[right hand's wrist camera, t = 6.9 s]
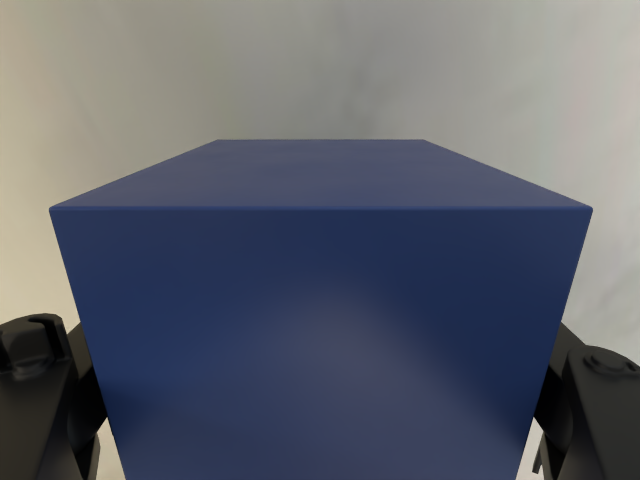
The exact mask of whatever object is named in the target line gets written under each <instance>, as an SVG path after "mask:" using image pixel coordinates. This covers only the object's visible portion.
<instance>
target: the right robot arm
mask: <svg viewBox="0 0 640 480" xmlns="http://www.w3.org/2000/svg"><path fill="white" fill-rule="evenodd" d="M106 418H108V415H107V412H106V408H105V405H104V402H103V398H102V395H101V391H100V388H99V384H98V381H97V377H96V374H95V370H94V367H93V363H92V360H91V356H90V353H89V349H88V346H87V342H86V339H85V335H84V332H83V328H82V325H81V322H80V323H79V324H78V325H77V326H76V327H75V328H74V329H73V330H72V331H70V332H69V333H68V334H66V330H65V327H64V324H63V321H62V318H61V317H59V316H57V315H56V314H48V313H43V314H33V315H28V316H24V317H21V318H17V319H14V320H11V321H9V322H6V323H4V324H1V325H0V480H96V475H97V468H98V461H99V454H100V442H99V438H98V435H97V431H98V430H99V428H100V427H101V425H102V424H103V422H104V421H105V419H106ZM534 418H535V419H536V421H537V422H538V424H539V425H540V427H541V428H542V430H543V434H542V438H541V441H540V444H539V448H538V451H537V454H536V457H535V461H534V464H533V470H532V472H534V473H537V474H538V472H539V469H540V466H541V465H542V467H543V474H544V480H640V367H639V366H638V365H637V364H635V363H634V362H632V361H631V360H629V359H628V358H626V357H624V356H622V355H620V354H618V353H616V352H614V351H611V350H607V349H604V348H601V347H597V346H589V345H585V344H584V343H583V342H582V341H581V340H580V339H579V338H578V337H577V336H576V335H574V334H573V333H572V332H571V331H570V330H569V329H568V328H567V327H566V326H565V325H564V324H563V323H562V322H561V323H560V327H559V330H558V334H557V337H556V341H555V344H554V348H553V351H552V354H551V358H550V361H549V365H548V368H547V372H546V375H545V379H544V382H543V386H542V389H541V393H540V396H539V400H538V403H537V406H536V410H535V413H534ZM108 421H109V419H108ZM109 425H110V422H109ZM110 428H111V426H110ZM111 431H112V429H111ZM112 435H113V433H112Z"/></svg>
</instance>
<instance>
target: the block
mask: <svg viewBox="0 0 640 480" xmlns="http://www.w3.org/2000/svg"><path fill="white" fill-rule="evenodd" d="M592 212H593V208H592V207H590V206H588V205H586V204H583V203H581V202H578V201H576V200H573V199H571V198H568V197H566V196H563V195H561V194H558V193H556V192H553V191H551V190H548V189H546V188H543V187H541V186H538V185H536V184H533V183H530V182H528V181H525V180H523V179H520V178H518V177H515V176H513V175H510V174H508V173H505V172H503V171H500V170H498V169H495V168H493V167H490V166H488V165H485V164H483V163H480V162H478V161H475V160H473V159H470V158H468V157H465V156H463V155H460V154H458V153H455V152H453V151H450V150H448V149H445V148H443V147H440V146H438V145H435V144H433V143H430V142H428V141H425V140H215V141H213V142H210V143H208V144H205V145H203V146H200V147H198V148H195V149H193V150H190V151H188V152H185V153H183V154H180V155H178V156H176V157H173V158H171V159H168V160H166V161H163V162H161V163H158V164H156V165H153V166H151V167H148V168H146V169H143V170H141V171H138V172H136V173H133V174H131V175H128V176H126V177H123V178H121V179H118V180H116V181H113V182H111V183H108V184H106V185H104V186H101V187H99V188H96V189H94V190H91V191H89V192H86V193H84V194H81V195H79V196H76V197H74V198H71V199H69V200H66V201H64V202H61V203H59V204H56V205H54V206H52V207H50V208H49V213H50V216H51V220H52V223H53V227H54V230H55V234H56V237H57V241H58V244H59V248H60V251H61V255H62V258H63V262H64V265H65V269H66V272H67V276H68V279H69V283H70V286H71V290H72V293H73V297H74V300H75V304H76V307H77V311H78V314H79V318H80V321H81V325H82V328H83V332H84V335H85V339H86V342H87V346H88V349H89V353H90V356H91V360H92V363H93V367H94V370H95V374H96V377H97V381H98V384H99V388H100V391H101V395H102V398H103V402H104V405H105V408H106V412H107V415H108V419H109V422H110V426H111V429H112V433H113V436H114V440H115V443H116V447H117V450H118V454H119V457H120V461H121V464H122V468H123V471H124V475H125V478H126V480H515V479H516V476H517V472H518V469H519V465H520V462H521V459H522V455H523V452H524V448H525V445H526V441H527V438H528V434H529V431H530V427H531V424H532V420H533V417H534V413H535V410H536V406H537V403H538V400H539V396H540V393H541V389H542V386H543V382H544V379H545V375H546V372H547V368H548V365H549V361H550V358H551V354H552V351H553V348H554V344H555V341H556V337H557V334H558V330H559V327H560V323H561V320H562V316H563V313H564V309H565V306H566V302H567V299H568V295H569V292H570V289H571V285H572V282H573V278H574V275H575V271H576V268H577V264H578V261H579V257H580V254H581V250H582V247H583V243H584V240H585V236H586V233H587V230H588V226H589V223H590V219H591V216H592Z"/></svg>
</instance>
